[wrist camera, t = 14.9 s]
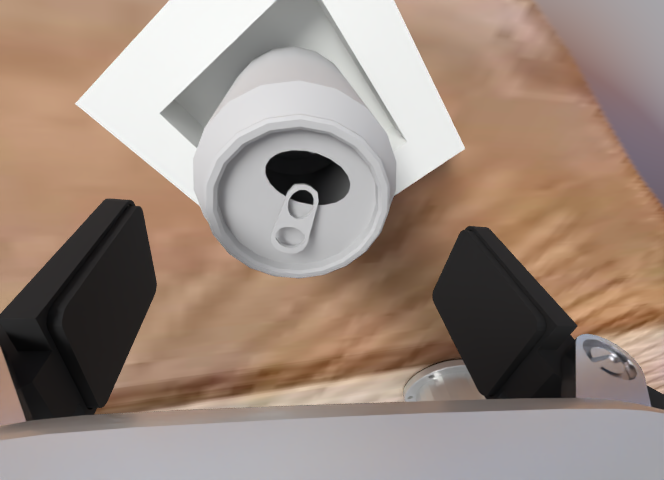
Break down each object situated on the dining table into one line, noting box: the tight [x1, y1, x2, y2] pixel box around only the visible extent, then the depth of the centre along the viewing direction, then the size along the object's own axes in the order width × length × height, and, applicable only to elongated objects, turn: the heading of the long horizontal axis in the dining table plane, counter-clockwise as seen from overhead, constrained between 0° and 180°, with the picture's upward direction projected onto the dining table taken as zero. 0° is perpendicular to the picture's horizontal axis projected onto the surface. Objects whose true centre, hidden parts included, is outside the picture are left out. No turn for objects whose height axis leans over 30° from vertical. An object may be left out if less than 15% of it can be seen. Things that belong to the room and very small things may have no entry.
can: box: [193, 46, 396, 278], centre depth 16 cm, size 8×8×12 cm
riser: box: [75, 0, 465, 206], centre depth 21 cm, size 15×15×6 cm
